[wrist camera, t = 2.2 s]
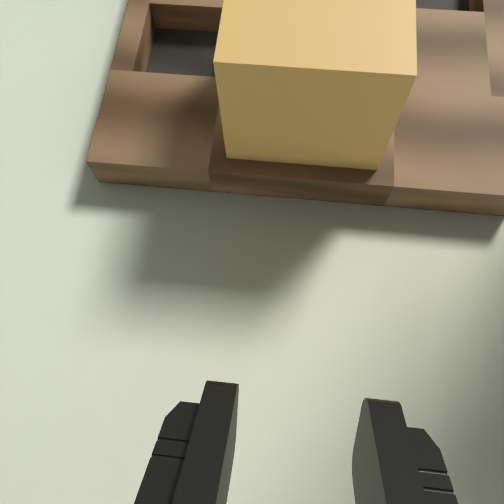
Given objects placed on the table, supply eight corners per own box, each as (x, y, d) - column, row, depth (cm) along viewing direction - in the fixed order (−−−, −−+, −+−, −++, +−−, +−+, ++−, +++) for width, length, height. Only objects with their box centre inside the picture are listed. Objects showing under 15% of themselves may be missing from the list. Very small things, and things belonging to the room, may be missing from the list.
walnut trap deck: (505, 215, 30) (526, 197, 27) (99, 181, 31) (86, 161, 29) (479, -82, 39) (493, -114, 37) (168, -96, 41) (162, -128, 39)
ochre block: (377, 170, 28) (417, 75, 21) (226, 157, 29) (213, 61, 21) (379, 51, 32) (414, -68, 24) (243, 42, 32) (237, -77, 25)
